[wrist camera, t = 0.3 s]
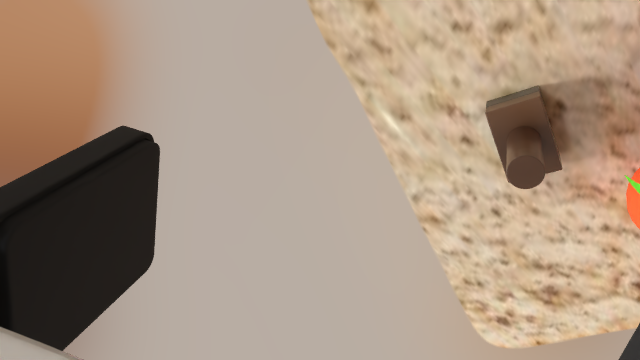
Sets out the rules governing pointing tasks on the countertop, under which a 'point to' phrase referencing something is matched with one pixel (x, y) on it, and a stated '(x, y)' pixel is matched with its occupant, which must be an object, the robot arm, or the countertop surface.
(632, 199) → the clementine
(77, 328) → the robot arm
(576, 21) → the countertop surface
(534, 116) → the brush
